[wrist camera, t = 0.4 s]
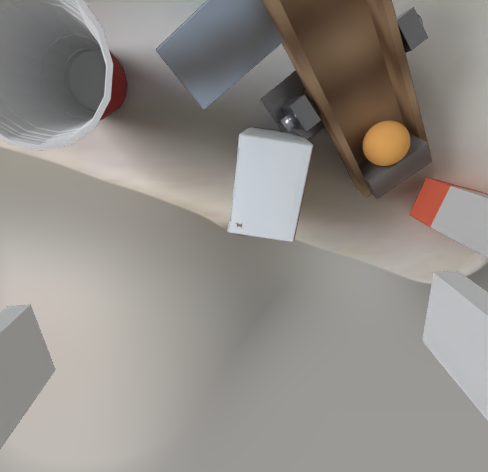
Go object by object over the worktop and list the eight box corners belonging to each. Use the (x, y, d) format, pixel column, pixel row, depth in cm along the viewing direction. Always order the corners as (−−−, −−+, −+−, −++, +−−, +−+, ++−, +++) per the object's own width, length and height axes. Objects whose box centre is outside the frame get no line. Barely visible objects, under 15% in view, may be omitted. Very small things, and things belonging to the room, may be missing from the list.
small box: (288, 207, 35) (294, 245, 26) (238, 200, 35) (226, 235, 26) (302, 133, 32) (316, 144, 22) (248, 125, 32) (238, 132, 23)
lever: (155, 47, 22) (158, 58, 19) (332, -121, 19) (368, -139, 16) (295, 222, 36) (310, 245, 33) (410, 141, 33) (437, 157, 30)
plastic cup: (178, 82, 31) (145, 63, 20) (110, 160, 34) (47, 183, 22) (86, -15, 28) (-15, -102, 17) (19, 79, 31) (-106, 58, 19)
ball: (348, 135, 30) (368, 145, 27) (385, 107, 29) (410, 115, 26) (365, 166, 32) (386, 180, 28) (400, 141, 31) (426, 152, 28)
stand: (260, 99, 32) (267, 95, 25) (373, 5, 29) (414, -28, 22) (294, 148, 33) (308, 156, 27) (403, 64, 31) (450, 49, 24)
